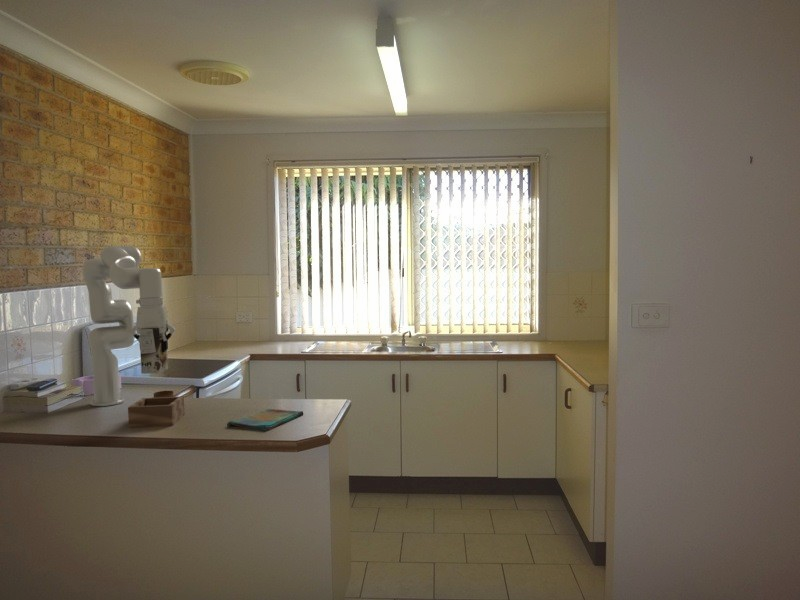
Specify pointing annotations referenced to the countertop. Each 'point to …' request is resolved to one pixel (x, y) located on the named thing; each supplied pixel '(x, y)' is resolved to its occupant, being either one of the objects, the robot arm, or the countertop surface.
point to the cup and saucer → (163, 394)
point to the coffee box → (152, 352)
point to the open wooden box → (156, 411)
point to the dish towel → (265, 420)
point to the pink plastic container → (88, 383)
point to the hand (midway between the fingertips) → (154, 351)
